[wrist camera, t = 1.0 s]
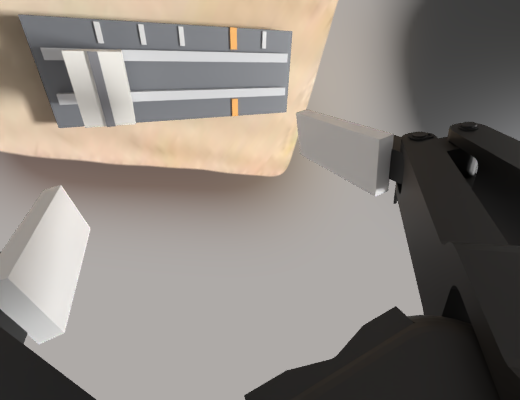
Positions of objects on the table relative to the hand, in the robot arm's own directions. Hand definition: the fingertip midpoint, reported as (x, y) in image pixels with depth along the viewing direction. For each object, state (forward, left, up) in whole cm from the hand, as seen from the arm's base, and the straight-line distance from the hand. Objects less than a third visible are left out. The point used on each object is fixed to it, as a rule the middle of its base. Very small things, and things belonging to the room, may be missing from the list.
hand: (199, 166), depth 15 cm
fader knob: (-3, -5, -20) cm, 21 cm away
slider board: (-3, +3, -23) cm, 24 cm away
